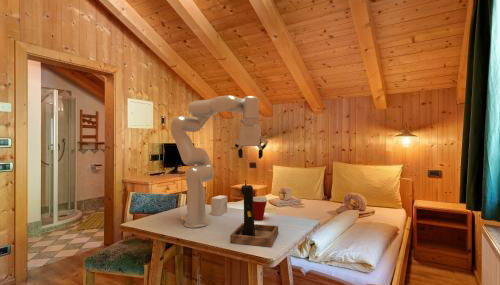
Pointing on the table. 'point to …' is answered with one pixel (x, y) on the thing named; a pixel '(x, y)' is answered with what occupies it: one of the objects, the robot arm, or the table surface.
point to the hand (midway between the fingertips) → (250, 158)
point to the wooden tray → (256, 236)
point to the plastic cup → (259, 207)
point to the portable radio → (248, 210)
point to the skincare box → (218, 205)
